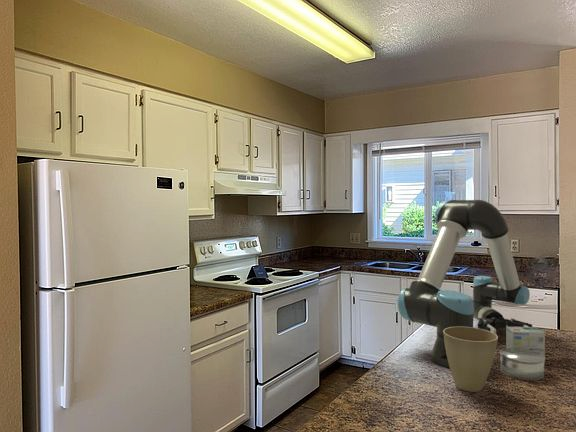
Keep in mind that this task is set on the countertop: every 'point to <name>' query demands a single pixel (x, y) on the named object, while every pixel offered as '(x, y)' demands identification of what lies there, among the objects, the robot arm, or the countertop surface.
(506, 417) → the countertop surface
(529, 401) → the countertop surface
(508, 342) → the light bulb box
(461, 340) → the plant pot
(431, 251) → the robot arm
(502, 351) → the cookie tin
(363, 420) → the countertop surface
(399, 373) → the countertop surface
